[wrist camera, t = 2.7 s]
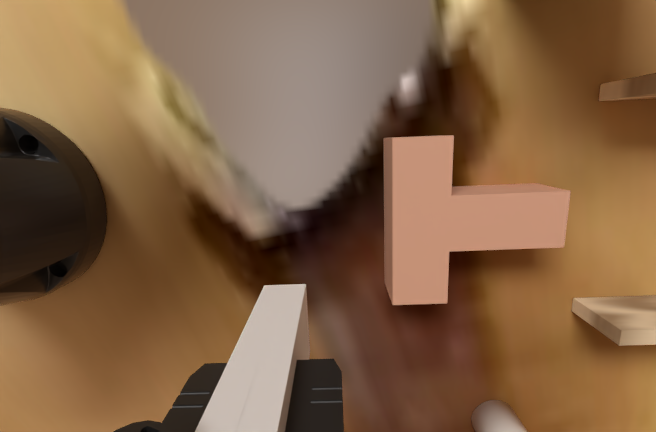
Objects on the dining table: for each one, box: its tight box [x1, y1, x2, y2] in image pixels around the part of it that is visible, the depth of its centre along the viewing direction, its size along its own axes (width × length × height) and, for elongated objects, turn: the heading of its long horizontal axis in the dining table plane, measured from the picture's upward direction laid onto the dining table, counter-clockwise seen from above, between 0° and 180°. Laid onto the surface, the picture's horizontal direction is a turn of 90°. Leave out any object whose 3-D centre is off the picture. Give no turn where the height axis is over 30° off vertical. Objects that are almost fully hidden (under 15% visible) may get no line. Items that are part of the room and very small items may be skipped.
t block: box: [384, 136, 571, 305], centre depth 26 cm, size 12×12×4 cm
